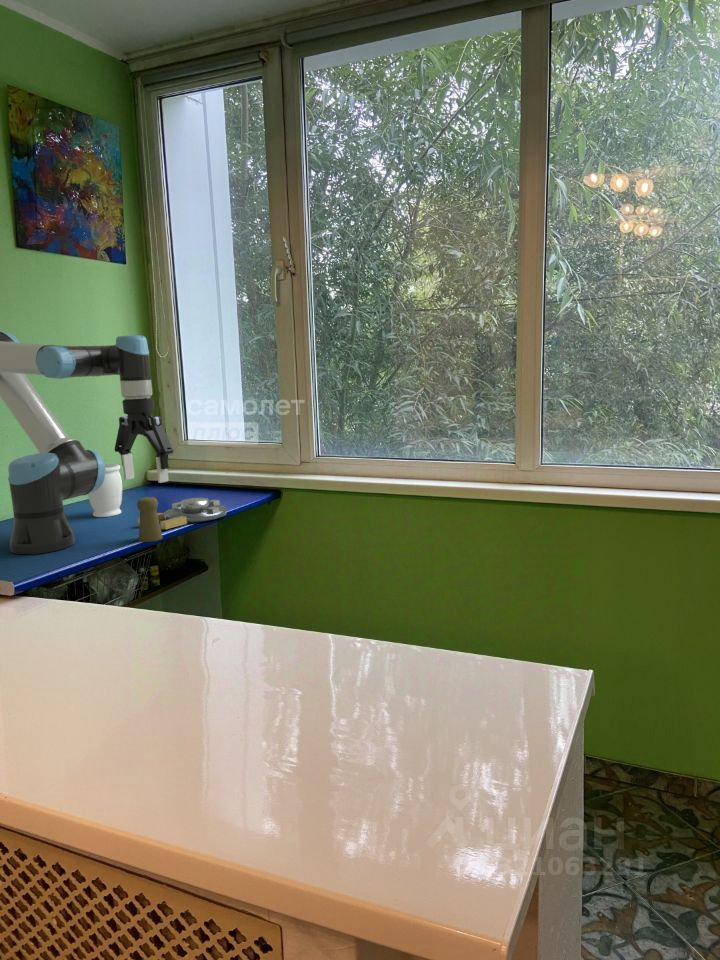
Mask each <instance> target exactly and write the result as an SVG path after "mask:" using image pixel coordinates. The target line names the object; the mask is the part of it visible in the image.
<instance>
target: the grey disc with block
mask: <svg viewBox="0 0 720 960" xmlns="http://www.w3.org/2000/svg"><path fill="white" fill-rule="evenodd" d="M171 506H172V508H170V509H169V508H168V509H167V510H165V511H164V512H157V515H158V519H159V524H160V528H161V530H168V529H172V528H176V527H180V526H183V525H187V524H189V523H190V524H191V523H199V522H207V521H212V520H213V521H214V520H216V519H221V518H222V517H225V516H226V515H227V506H225V505H222V504H221V502H220V500H219V499H211V500H209V498H205V497H191V498H185V499H183V500H180V502H179V501H178V502H173V503H171ZM137 520H138V521H137V523H138V524H139V523H140V517H137Z"/></svg>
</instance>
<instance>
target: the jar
mask: <svg viewBox="0 0 720 960" xmlns="http://www.w3.org/2000/svg"><path fill="white" fill-rule="evenodd" d="M104 465H105V479H104V482H103V484H102V485H101V487H100V488H99V489H97V490H96V491H94V492H91V493H89V494H87V496H88V500H89V504H90V506H91V508H92V509H93V513H92V516H93V517H94V518H108V517H114V516H118V515H120V514H122V510H121V509H120V507H121V504H122V501H123V481H122V476H121V473H120V469H121V465H120V464H113V463H112V464H111V463H107V464H105V463H104Z"/></svg>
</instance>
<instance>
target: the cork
mask: <svg viewBox="0 0 720 960" xmlns="http://www.w3.org/2000/svg"><path fill="white" fill-rule="evenodd" d="M158 505H159V501H158V499H157V498H156V497H152V496H146V497H142V498H139V499H138V500H137V502H136V507H137V509H138V511H139V518H140V523H138V526H139V527H138V528H139V529H138V530H139V531H138V541H139V542H142V543H143V542H144V543H149V542H157V541H160V540H162V539H164V538H163V533H162V529H161V524H160V522H159V519H158V515H157V513H158V512H157V509H158Z"/></svg>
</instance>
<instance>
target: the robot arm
mask: <svg viewBox="0 0 720 960" xmlns="http://www.w3.org/2000/svg"><path fill="white" fill-rule="evenodd" d="M115 338H116V339H115V344H113V345H77V346H76V345H56V344H55V345H54V344H42V343H27V342H20V340H18V339H17V338H16V337H15V335H14V334H12V333H10V332H7V331H4V330H0V399H1V400H2V401H3V403H4V404H5V405H6V407H7V408H8V410H9V411H10V412H11V414H12V415H13V417H14V419H15V420H16V421H17V423H18V425H20V427H21V428H22V429H23V432H24V433H25V434H26V436H28V438H29V440H30V442H32V444H33V445H34V447H35V449H37V451H38V453H34V454H27V455H25V456H21V457H18V458H16V459H14V460H13V461H11V462H9V464H8V469H7V470H8V478H7V479H8V483H9V491H10V497H11V503H12V505H11V506H12V511H13V512H12V513H13V526H12V531H11V534H10V535H11V536H10V539H9V550H10V552H11V553H13V554H18V555H36V554H37V555H39V554H45V553H50V552H51V553H52V552H57V551H61V550H64V549H66V548H69V547H72V546H73V545H74V544H75V541H76V540H75V533H74V532H73V529H72V528H71V526H70V523H69V521H68V520H67V517H66V516H65V511H64V503H63V501H66V500H69V499H73V498H78V497H80V496H88V494H89V493H91V492H94V491H96V490H97V489H99V488H100V487H101V485H102V484H103V482H104V479H105V461H104V459H103V458H102V456H101V455H100V454H99V453H98V452H97V451H94V450H91V449H85V447H84V446H83V444H81V442H80V441H79V439H75V438H70V436H69V435H68V433H67V432H66V431H65V429H64V428H63V427H62V425H61V424H60V422H59V421H58V419H57V418H56V417H55V415H54V414H53V412H52V411H51V409H50V408H49V407H48V406H47V404H46V402H45V401H44V400H43V398H42V397H41V396H40V394H39V392H38V391H37V390H36V388H35V387H34V386H33V383H31V381H30V379H28V377H27V376H26V375H35V376H43V377H46V378H49V379H57V380H58V379H61V380H62V379H67V378H69V379H70V378H83V377H84V378H85V377H103V376H106V377H107V376H115V375H117V376H119V384H120V392H121V393H120V394H121V395H120V396H121V398H124V399H123V400H122V411H123V414H124V415H127V416H120V417H118V422H119V423H118V424H119V425H118V430H117V435H116V440H115V444H114V451H115V453H116V452H117V453H119V455H120V459H121V466H122V470H123V478H124V479H123V480H124V481H127V480H131V479H132V480H133V479H136V478H135V476H136V475H135V468H134V467H135V466H134V460H133V459H134V458H133V457H134V456H133V453H132V451H131V450H132V448H133V446H134V444H135V441H136V439H137V437H138V436H139V435H140V436H143V437H145V438H146V439H147V441H148V442H149V444H150V445H151V447H152V448H153V449H154V452H155V453H156V455H155V463H156V472H157V481H158V482H157V483H158V484H159V483H160V484H161V483H167V482H169V470H168V469H169V459H168V456H169V455H171V454H173V453H174V449H173V446H172V444H171V442H170V439H169V437H168V434H167V431H166V430H165V428H164V426H163V422H162V420H163V419H162V417H161V416H153V415H152V413H154V412H155V404H154V398H153V397H151V396H152V395H153V385H152V384H153V383H152V376H151V365H150V362H151V361H150V351H149V346H148V340H147V338H146V336H144V335H140V334H139V335H137V334H136V335H135V334H134V335H121V336H119V335H118V336H117V337H115Z"/></svg>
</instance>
